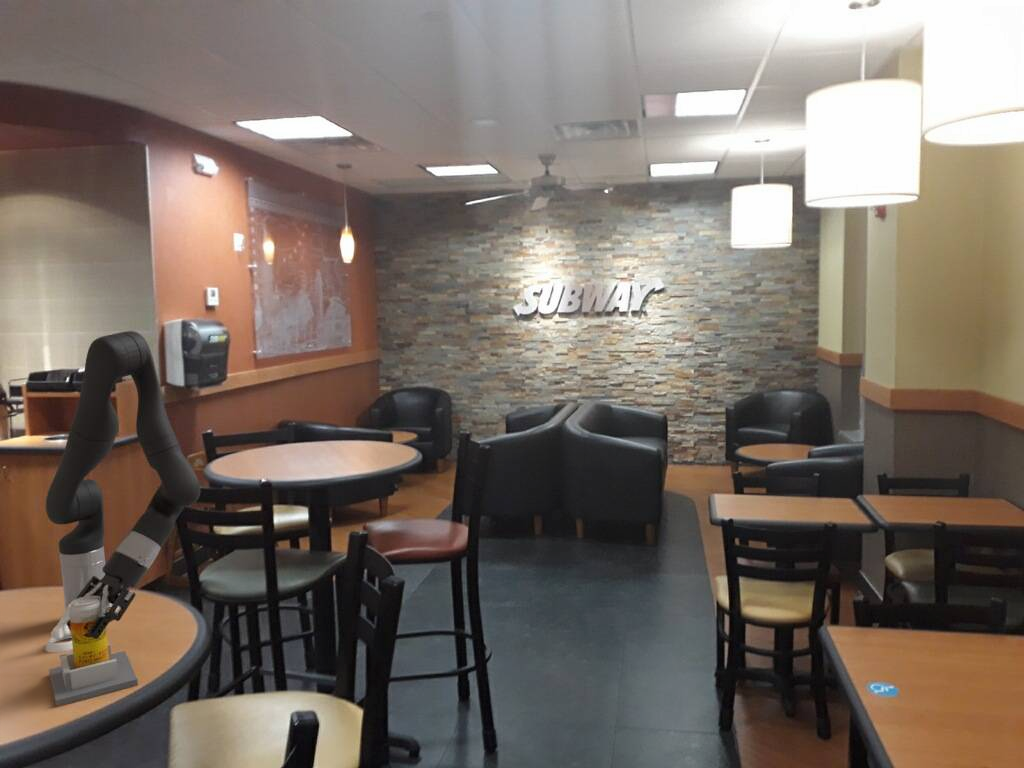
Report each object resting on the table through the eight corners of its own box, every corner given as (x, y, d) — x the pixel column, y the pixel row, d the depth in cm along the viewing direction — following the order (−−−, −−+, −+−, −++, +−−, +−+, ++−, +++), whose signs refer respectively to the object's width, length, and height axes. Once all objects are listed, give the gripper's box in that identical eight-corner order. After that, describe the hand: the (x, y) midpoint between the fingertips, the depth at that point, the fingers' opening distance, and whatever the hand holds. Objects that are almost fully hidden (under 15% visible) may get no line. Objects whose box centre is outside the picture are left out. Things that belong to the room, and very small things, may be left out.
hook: (92, 628, 176) (60, 614, 174) (67, 669, 179) (36, 656, 177) (105, 608, 183) (74, 594, 181) (81, 648, 186) (50, 635, 184)
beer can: (80, 683, 159) (72, 608, 157) (72, 673, 164) (64, 600, 162) (113, 673, 163) (106, 600, 161) (104, 663, 168) (97, 592, 166)
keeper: (49, 675, 166) (47, 652, 166) (125, 656, 174) (123, 634, 173) (56, 706, 153) (53, 682, 152) (137, 684, 160) (135, 661, 160)
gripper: (100, 544, 171) (48, 616, 163) (137, 555, 162) (83, 631, 154) (128, 562, 175) (78, 632, 168) (164, 573, 167) (114, 648, 159)
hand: (81, 632), depth 161 cm, fingers open, 8 cm apart
